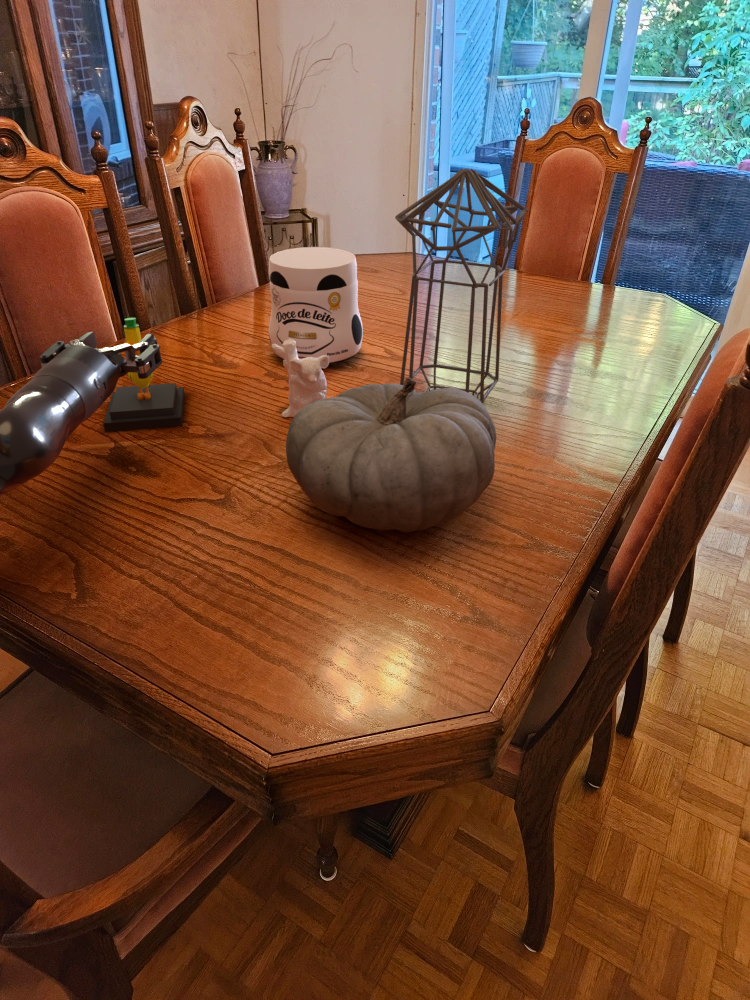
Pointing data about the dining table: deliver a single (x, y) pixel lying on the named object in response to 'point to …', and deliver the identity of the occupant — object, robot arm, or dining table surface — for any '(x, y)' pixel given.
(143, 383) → the toy figure
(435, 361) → the geometric lantern
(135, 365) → the robot arm
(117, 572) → the dining table surface
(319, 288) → the milk container
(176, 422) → the pad stack
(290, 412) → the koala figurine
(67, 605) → the dining table surface
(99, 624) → the dining table surface
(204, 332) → the dining table surface
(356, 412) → the gourd
